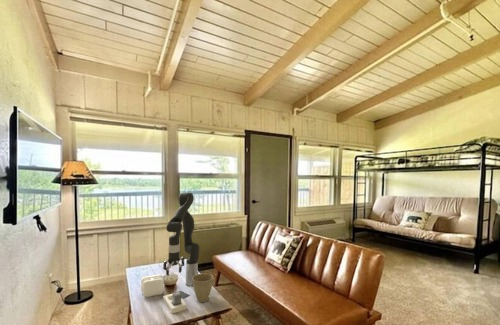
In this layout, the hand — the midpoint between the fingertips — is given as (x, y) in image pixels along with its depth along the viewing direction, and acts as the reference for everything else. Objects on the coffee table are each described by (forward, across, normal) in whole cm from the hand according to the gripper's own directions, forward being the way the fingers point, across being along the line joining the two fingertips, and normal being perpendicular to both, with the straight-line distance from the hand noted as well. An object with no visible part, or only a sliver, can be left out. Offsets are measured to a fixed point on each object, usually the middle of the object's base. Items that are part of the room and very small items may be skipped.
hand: (173, 273), depth 178 cm
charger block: (+20, 0, +6) cm, 21 cm away
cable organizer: (+21, +8, -23) cm, 32 cm away
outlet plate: (+20, 0, +2) cm, 20 cm away
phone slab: (+21, -9, -9) cm, 25 cm away
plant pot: (+21, -19, +7) cm, 29 cm away
